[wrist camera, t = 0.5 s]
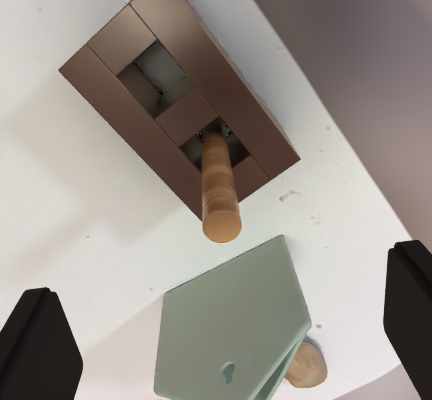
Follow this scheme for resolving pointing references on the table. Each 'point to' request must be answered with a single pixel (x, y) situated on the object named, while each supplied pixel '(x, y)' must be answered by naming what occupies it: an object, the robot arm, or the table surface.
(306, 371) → the stone
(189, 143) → the holder
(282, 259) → the planter
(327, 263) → the table surface
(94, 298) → the table surface
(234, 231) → the stirring stick
